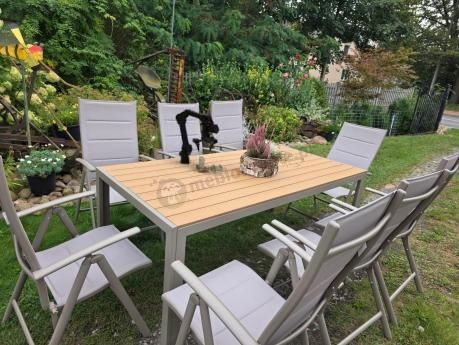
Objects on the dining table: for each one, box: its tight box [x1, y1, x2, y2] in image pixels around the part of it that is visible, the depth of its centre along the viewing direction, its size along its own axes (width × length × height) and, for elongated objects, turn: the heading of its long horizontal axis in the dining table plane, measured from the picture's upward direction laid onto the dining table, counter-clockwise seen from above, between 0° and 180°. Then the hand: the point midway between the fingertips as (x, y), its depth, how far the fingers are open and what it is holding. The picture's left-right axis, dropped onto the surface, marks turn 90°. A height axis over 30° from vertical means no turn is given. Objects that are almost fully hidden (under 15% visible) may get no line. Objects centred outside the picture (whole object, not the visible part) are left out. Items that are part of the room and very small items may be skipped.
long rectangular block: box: [198, 156, 206, 169], centre depth 227 cm, size 3×6×9 cm, turn 18°
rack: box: [195, 164, 207, 171], centre depth 228 cm, size 6×11×2 cm, turn 18°
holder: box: [210, 163, 225, 171], centre depth 232 cm, size 8×9×3 cm
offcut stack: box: [197, 168, 210, 174], centre depth 221 cm, size 8×3×2 cm, turn 107°
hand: (204, 151), depth 226 cm, fingers open, 9 cm apart
